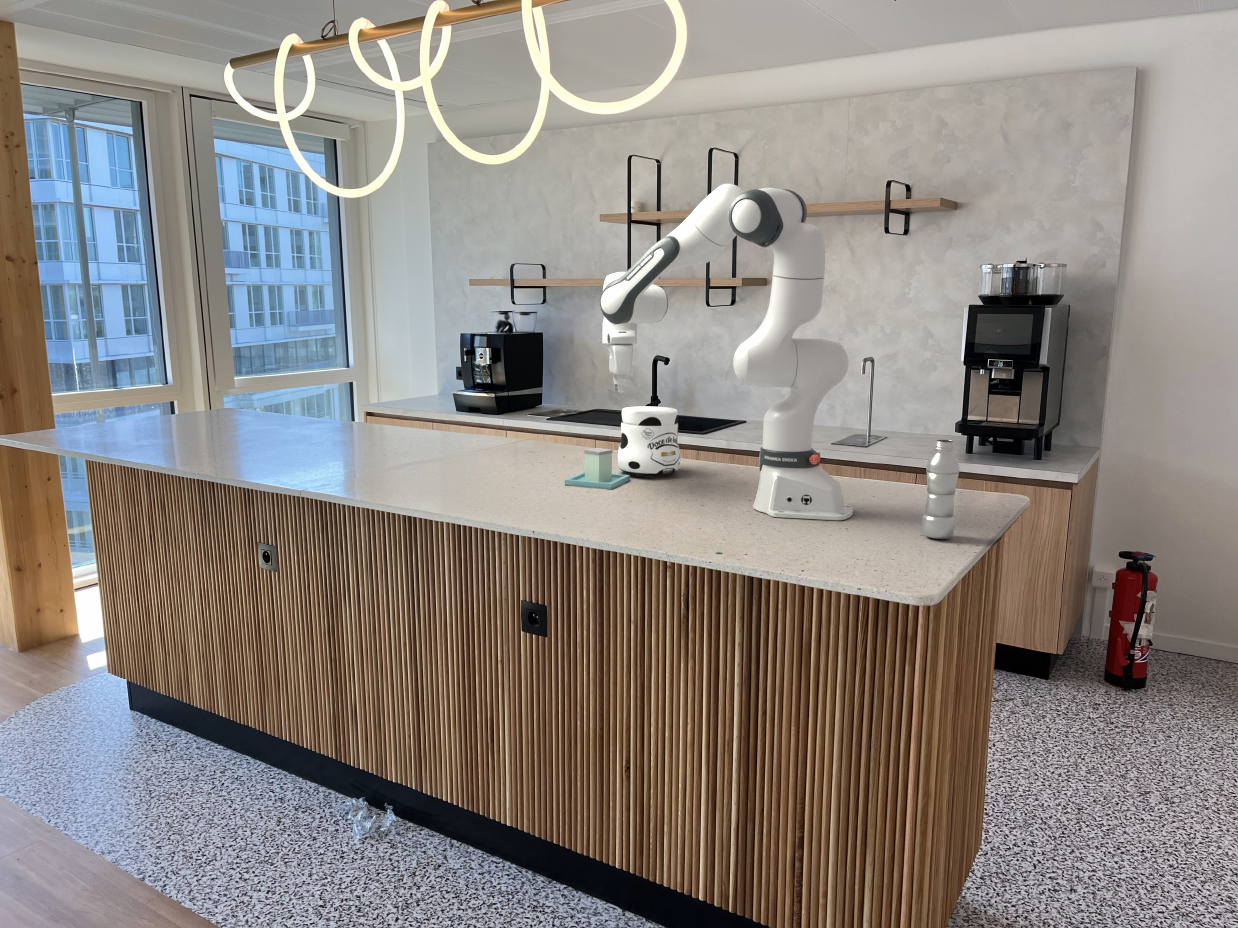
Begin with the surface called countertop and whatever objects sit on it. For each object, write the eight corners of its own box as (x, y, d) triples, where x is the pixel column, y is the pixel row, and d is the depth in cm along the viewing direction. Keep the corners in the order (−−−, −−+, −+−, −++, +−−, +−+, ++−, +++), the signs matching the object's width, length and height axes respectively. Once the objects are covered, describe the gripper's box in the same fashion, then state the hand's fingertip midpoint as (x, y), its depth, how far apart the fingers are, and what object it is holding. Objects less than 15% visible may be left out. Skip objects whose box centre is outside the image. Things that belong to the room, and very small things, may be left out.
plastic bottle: (916, 539, 180) (923, 441, 177) (925, 532, 186) (932, 437, 182) (949, 543, 177) (957, 444, 173) (957, 536, 182) (965, 440, 179)
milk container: (673, 482, 236) (674, 414, 232) (610, 478, 240) (610, 411, 237) (685, 470, 252) (687, 407, 249) (626, 467, 256) (627, 404, 253)
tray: (629, 480, 237) (629, 475, 237) (611, 489, 225) (611, 484, 225) (585, 476, 242) (585, 471, 241) (564, 485, 230) (564, 479, 229)
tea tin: (612, 480, 233) (612, 449, 232) (598, 483, 230) (599, 452, 228) (597, 477, 237) (597, 447, 235) (584, 480, 233) (584, 449, 232)
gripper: (603, 337, 236) (603, 389, 238) (610, 336, 216) (610, 393, 218) (627, 337, 237) (627, 389, 239) (636, 336, 217) (636, 393, 218)
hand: (619, 391), depth 228 cm, fingers open, 8 cm apart
